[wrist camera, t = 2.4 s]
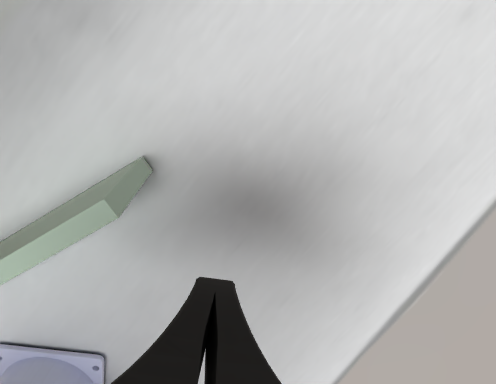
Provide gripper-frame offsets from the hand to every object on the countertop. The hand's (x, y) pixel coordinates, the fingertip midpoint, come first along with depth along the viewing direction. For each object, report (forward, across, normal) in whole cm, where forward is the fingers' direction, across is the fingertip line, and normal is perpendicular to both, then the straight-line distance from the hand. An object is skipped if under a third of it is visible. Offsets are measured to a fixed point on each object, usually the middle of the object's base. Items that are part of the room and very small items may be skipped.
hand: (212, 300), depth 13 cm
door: (+9, +11, +3) cm, 14 cm away
